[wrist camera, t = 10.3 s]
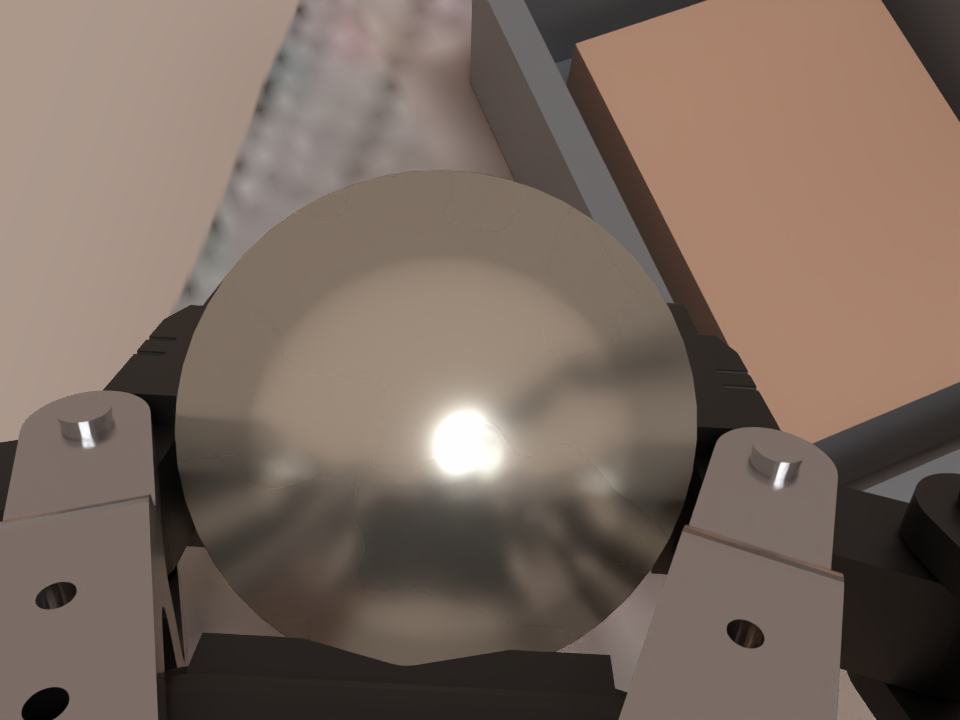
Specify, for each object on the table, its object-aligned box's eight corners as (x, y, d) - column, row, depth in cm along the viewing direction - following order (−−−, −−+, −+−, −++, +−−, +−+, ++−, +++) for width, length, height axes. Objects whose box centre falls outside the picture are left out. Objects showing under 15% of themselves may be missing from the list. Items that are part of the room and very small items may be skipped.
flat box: (811, 16, 29) (850, -48, 26) (1018, 356, 25) (1091, 326, 22) (563, 100, 27) (575, 43, 24) (745, 470, 24) (784, 455, 21)
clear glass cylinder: (522, 324, 17) (570, 108, 9) (628, 566, 16) (789, 551, 8) (280, 415, 16) (115, 265, 9) (369, 677, 15) (267, 778, 7)
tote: (825, -35, 31) (902, -165, 25) (1102, 405, 26) (1267, 359, 21) (470, 82, 29) (472, -32, 23) (699, 580, 24) (766, 580, 19)
